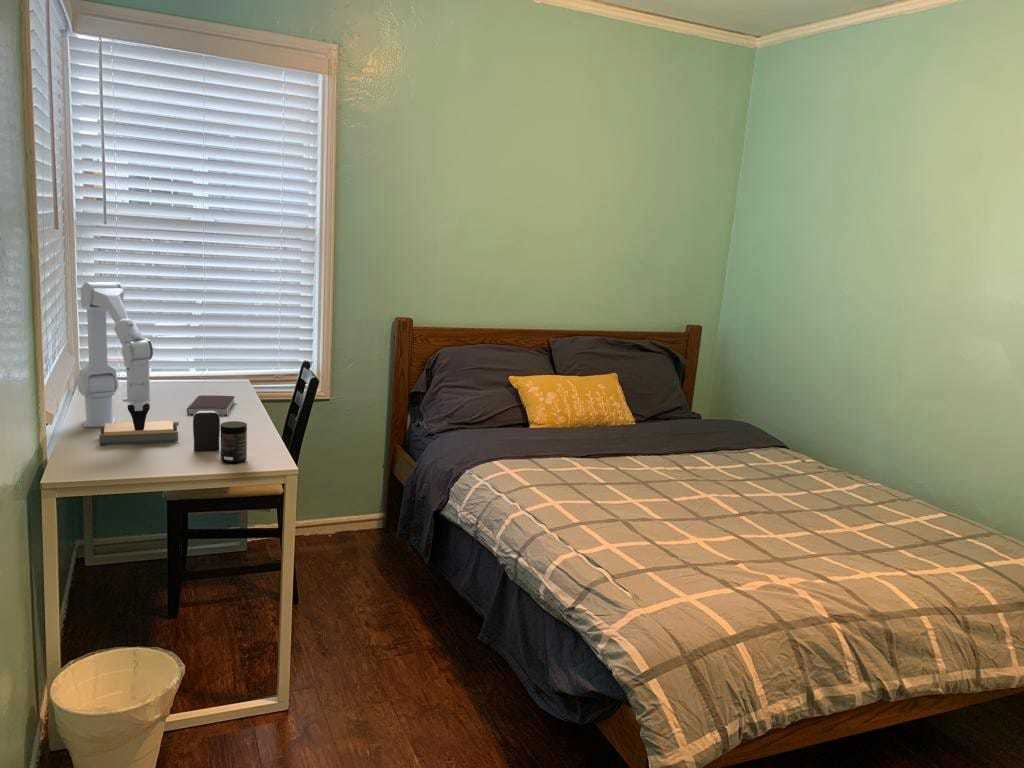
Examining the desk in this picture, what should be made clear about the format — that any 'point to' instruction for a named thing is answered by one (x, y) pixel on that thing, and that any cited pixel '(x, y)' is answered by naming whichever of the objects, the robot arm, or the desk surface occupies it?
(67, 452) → the desk surface
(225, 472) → the desk surface
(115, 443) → the grey tray with rod
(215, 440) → the battery charger
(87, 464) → the desk surface
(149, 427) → the cover
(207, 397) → the book
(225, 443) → the supplement container
